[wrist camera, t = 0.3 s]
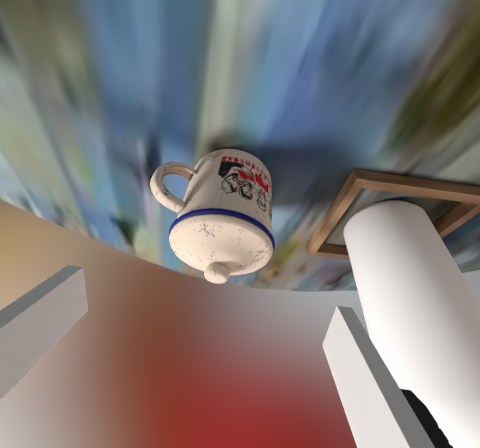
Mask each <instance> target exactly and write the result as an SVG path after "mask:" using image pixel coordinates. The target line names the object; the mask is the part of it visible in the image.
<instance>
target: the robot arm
mask: <svg viewBox="0 0 480 448" xmlns="http://www.w3.org/2000/svg"><path fill="white" fill-rule="evenodd" d="M87 311H88V304H87V297H86V289H85V282H84V275H83V268H82V267H75V266H66V267H65V268H63V269H62V270H60V271H59V272H58V273H56V274H54V275H53V276H52V277H50V278H48V279H47V280H45V281H44V282H42V283H41V284H39V285H38V286H36V287H35V288H33V289H32V290H30V291H29V292H27V293H26V294H24V295H23V296H21V297H20V298H18V299H17V300H16V301H14V302H13V303H11V304H10V305H8V306H7V307H5V308H4V309H2V310H1V311H0V400H1V399H2V398H3V397H4V396H5V395H6V394H7V393H8V392H9V391H10V390H11V389H12V388H13V387H14V386H15V385H16V384H17V383H18V382H19V381H20V380H21V379H22V378H23V377H24V376H25V375H26V374H27V373H28V371H29V370H30V369H31V368H32V367H33V366H34V365H35V364H36V363H37V362H38V361H39V360H40V359H41V358H42V357H43V356H44V355H45V354H46V353H47V352H48V351H49V350H50V349H51V347H53V346H54V345H55V344H56V343H57V342H58V341H59V340H60V339H61V338H62V337H63V336H64V335H65V334H66V333H67V332H68V330H69V329H70V328H71V327H72V326H73V325H74V324H75V323H76V322H77V321H78V320H79V319H80V318H81V317H82V316H83V315H84V314H85V313H86V312H87ZM323 348H324V351H325V354H326V357H327V360H328V363H329V366H330V369H331V372H332V375H333V378H334V380H335V383H336V386H337V389H338V392H339V395H340V398H341V401H342V404H343V407H344V410H345V413H346V416H347V419H348V421H349V424H350V427H351V430H352V433H353V436H354V439H355V442H356V445H357V448H453V446H452V445H450V444H449V440H448V439H447V437H446V436H445V434H444V433H443V431H442V430H441V429H440V428H439V427H438V423H437V422H436V420H435V419H434V417H433V416H432V414H431V413H430V411H429V410H428V408H427V407H426V406H425V405H424V403H423V402H422V401H421V400H420V399H419V398H418V397H417V396H416V395H415V394H414V393H413V392H412V391H411V390H406V389H400V388H399V386H398V385H397V383H396V381H395V380H394V378H393V376H392V375H391V373H390V371H389V370H388V368H387V366H386V364H385V363H384V361H383V359H382V358H381V356H380V354H379V353H378V351H377V349H376V348H375V346H374V344H373V343H372V341H371V339H370V338H369V336H368V334H367V333H366V331H365V329H364V328H363V326H362V324H361V322H360V321H359V319H358V317H357V316H356V314H355V312H354V311H353V309H352V308H349V307H342V306H337V307H336V310H335V313H334V316H333V318H332V321H331V323H330V326H329V329H328V332H327V334H326V337H325V340H324V343H323Z"/></svg>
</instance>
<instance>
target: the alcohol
mask: <svg viewBox="0 0 480 448" xmlns="http://www.w3.org/2000/svg"><path fill="white" fill-rule="evenodd" d="M343 233H344V238H345V242H346V246H347V250H348V254H349V258H350V262H351V266H352V269H353V273H354V277H355V281H356V285H357V289H358V293H359V297H360V300H361V304H362V309H363V313H364V317H365V320H366V324H367V328H368V332H369V336H370V339H371V341H372V343H373V344H374V346H375V348H376V349H377V351H378V353H379V354H380V356H381V358H382V359H383V361H384V363H385V364H386V366H387V368H388V370H389V371H390V373H391V375H392V376H393V378H394V380H395V381H396V383H397V385H398V386H399V388H400V389H406V390H411V391H412V392H413V393H414V394H415V395H416V396H417V397H418V398H419V399H420V400H421V401H422V402H423V403H424V405H425V406H426V407H427V408H428V410H429V411H430V413H431V414H432V416H433V417H434V419H435V420H436V422H437V423H438V427H439V428H440V429H441V430H442V431H443V433H444V434H445V436H446V437H447V439H448V440H449V444H450V445H452V446H453V448H480V304H479V302H478V300H477V299H476V297H475V295H474V294H473V292H472V290H471V289H470V287H469V285H468V284H467V282H466V280H465V279H464V277H463V275H462V273H461V272H460V270H459V268H458V266H457V265H456V263H455V261H454V260H453V258H452V256H451V255H450V253H449V251H448V250H447V248H446V246H445V244H444V243H443V241H442V239H441V238H440V236H439V234H438V233H437V231H436V229H435V227H434V226H433V224H432V222H431V221H430V219H429V217H428V216H427V214H426V212H425V211H424V210H423V209H422V208H421V207H419V206H417V205H414V204H412V203H409V202H406V201H401V200H387V201H381V202H377V203H373V204H370V205H368V206H366V207H364V208H362V209H360V210H358V211H357V212H356V213H354V214H353V215H352V216H351V217H350V219H349V220H348V222H347V224H346V226H345V228H344V232H343Z"/></svg>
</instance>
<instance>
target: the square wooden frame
mask: <svg viewBox="0 0 480 448" xmlns="http://www.w3.org/2000/svg"><path fill="white" fill-rule="evenodd" d="M362 188H366V189H373V190H381V191H388V192H395V193H402V194H409V195H416V196H423V197H430V198H438V199H445V200H452V201H459V202H460V203H459V204H458V205H457V206H455V207H454V208H453V209H451V210H450V211H449V212H448V213H446V214H445V215H444V216H443V217H441V218H440V219H439V220H437V221H436V222H435V223H434V224H433V226H434V227H435V229H436V231H437V233H438V234H439V236H440V238H441V239H442V238H444V237H445V236H446V235H448V234H449V233H451V232H452V231H454V230H455V229H456V228H458V227H459V226H461V225H462V224H464V223H465V222H467V221H468V220H469V219H471V218H472V217H474V216H475V215H477V214H478V213H480V187H478V186H471V185H464V184H457V183H450V182H443V181H436V180H429V179H422V178H415V177H408V176H401V175H394V174H387V173H380V172H373V171H366V170H359V169H353V171H352V172H351V174H350V175H349V177H348V179H347V180H346V182H345V183H344V185H343V187H342V188H341V190H340V192H339V193H338V195H337V196H336V198H335V200H334V201H333V203H332V204H331V206H330V208H329V209H328V211H327V213H326V214H325V216H324V217H323V219H322V221H321V222H320V224H319V225H318V227H317V229H316V230H315V232H314V234H313V235H312V237H311V238H310V240H309V242H308V243H307V245H306V249H307V254H310V255H317V256H325V257H332V258H340V259H348V260H350V258H349V254H348V250H347V247H344V246H337V245H329V244H322V243H323V242H324V240H325V239H326V238H327V236H328V235H329V233H330V232H331V231H332V229H333V228H334V226H335V225H336V224H337V222H338V221H339V219H340V218H341V217H342V215H343V214H344V212H345V211H346V210H347V208H348V207H349V205H350V204H351V203H352V201H353V200H354V198H355V197H356V196H357V194H358V193H359V191H360V190H361V189H362Z"/></svg>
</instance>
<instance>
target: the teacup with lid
mask: <svg viewBox="0 0 480 448" xmlns="http://www.w3.org/2000/svg"><path fill="white" fill-rule="evenodd" d="M168 174H177V175H180V176H183V177H185V178H187V179H188V180H190V183H189V186H188V188H187V191H186V194H185V197H184V200H183V201H182V200H180V199H179V198H177V197H175V196H174V195H172V194H171V193H170V192H169V191H168V190H167V189H166V188H165V186H164V184H163V181H162V178H163V176H165V175H168ZM150 185H151V190H152V192H153V194H154V196H155V197H156V198H157V200H158V201H159V202H160V203H162V204H163V205H164V206H166V207H167V208H169V209H171V210H173V211H175V212H177V213H179V214H178V217H177V219H176V220H175V221H174V222H173V224H172V225H171V228H170V231H169V237H170V239H169V240H170V244H171V247H172V249H173V251H174V253H175V254H176V255H177V256H178V257H179V258H180V259H181V260H182V261H184V262H185V263H187V264H188V265H190V266H192V267H194V268H197V269H199V270H202V271H204V276H205V278H206V279H207V280H208V281H210V282H213V283H225V282H226V281H227V280H228V279H229V276H230V275H241V274H247V273H250V272H253V271H256V270H258V269H260V268H262V267H263V266H264V265H266V264H267V263H268V261H269V260H270V258H271V257H272V254H273V252H274V247H275V243H274V239H273V236H272V181H271V176H270V173H269V171H268V169H267V168H266V166H265V165H264V164H263V163H262V162H261V161H260V160H259V159H258V158H256V157H255V156H253V155H252V154H250V153H247V152H245V151H241V150H236V149H221V150H216V151H213V152H211V153H209V154H207V155H205V156H204V157H203V158H202V159H201V160H200V161H199V162H198V163H197V165H196V166H195V169H193V168H192V167H190V166H188V165H186V164H183V163H180V162H169V163H165V164H163V165H161V166H160V167H159V168H158V169H157V170H156V171H155V173H154V174H153V176H152V178H151V183H150Z"/></svg>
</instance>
